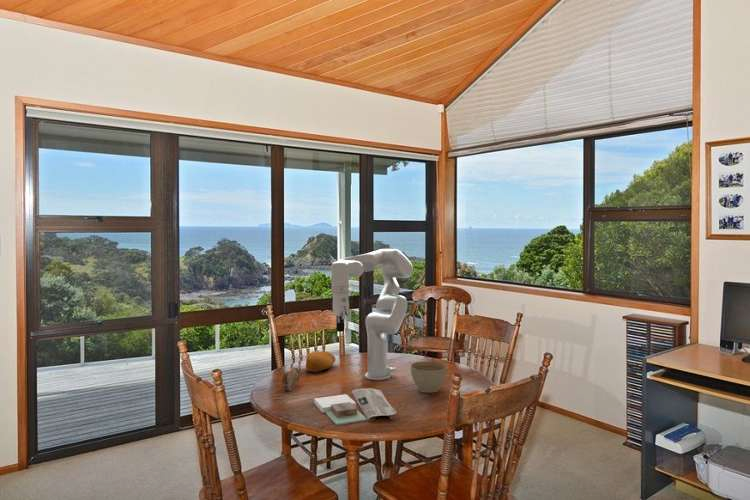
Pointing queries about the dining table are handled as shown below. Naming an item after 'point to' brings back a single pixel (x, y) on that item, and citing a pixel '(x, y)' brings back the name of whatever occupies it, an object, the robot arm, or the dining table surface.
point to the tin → (290, 379)
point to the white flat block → (331, 402)
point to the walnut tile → (343, 409)
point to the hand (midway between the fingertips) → (340, 331)
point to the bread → (319, 361)
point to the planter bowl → (428, 375)
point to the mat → (346, 418)
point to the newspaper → (373, 403)
